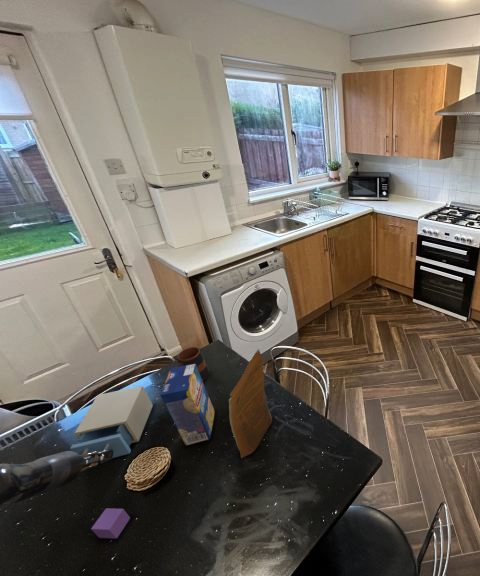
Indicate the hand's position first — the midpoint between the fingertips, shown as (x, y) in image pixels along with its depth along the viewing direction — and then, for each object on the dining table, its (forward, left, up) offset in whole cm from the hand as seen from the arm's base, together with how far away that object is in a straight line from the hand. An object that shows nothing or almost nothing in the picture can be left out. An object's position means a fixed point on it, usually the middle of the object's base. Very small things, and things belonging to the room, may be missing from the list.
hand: (96, 457), depth 87 cm
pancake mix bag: (+32, -28, -6) cm, 43 cm away
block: (-4, -20, -5) cm, 21 cm away
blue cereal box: (+23, -10, -6) cm, 25 cm away
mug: (+33, +13, -6) cm, 36 cm away
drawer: (+4, +5, -4) cm, 8 cm away
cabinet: (+9, +11, -5) cm, 15 cm away
